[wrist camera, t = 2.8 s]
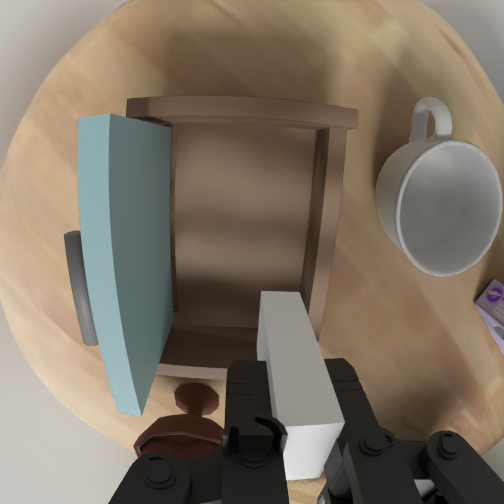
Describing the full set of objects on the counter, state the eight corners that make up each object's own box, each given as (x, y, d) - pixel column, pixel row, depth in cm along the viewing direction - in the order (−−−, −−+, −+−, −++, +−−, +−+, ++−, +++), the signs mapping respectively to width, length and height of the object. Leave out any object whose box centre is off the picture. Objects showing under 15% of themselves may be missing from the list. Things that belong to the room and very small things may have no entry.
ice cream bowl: (242, 367, 32) (244, 486, 18) (240, 428, 36) (241, 528, 22) (147, 360, 32) (108, 470, 18) (160, 422, 35) (139, 517, 21)
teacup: (447, 244, 28) (493, 272, 21) (357, 250, 28) (393, 286, 21) (451, 112, 24) (505, 109, 16) (356, 99, 24) (398, 85, 16)
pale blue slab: (174, 319, 28) (141, 417, 16) (145, 317, 28) (100, 410, 16) (171, 127, 22) (109, 113, 11) (138, 129, 22) (55, 120, 11)
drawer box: (302, 327, 31) (317, 380, 23) (163, 321, 30) (143, 372, 22) (325, 119, 24) (358, 109, 17) (159, 111, 24) (127, 98, 16)
